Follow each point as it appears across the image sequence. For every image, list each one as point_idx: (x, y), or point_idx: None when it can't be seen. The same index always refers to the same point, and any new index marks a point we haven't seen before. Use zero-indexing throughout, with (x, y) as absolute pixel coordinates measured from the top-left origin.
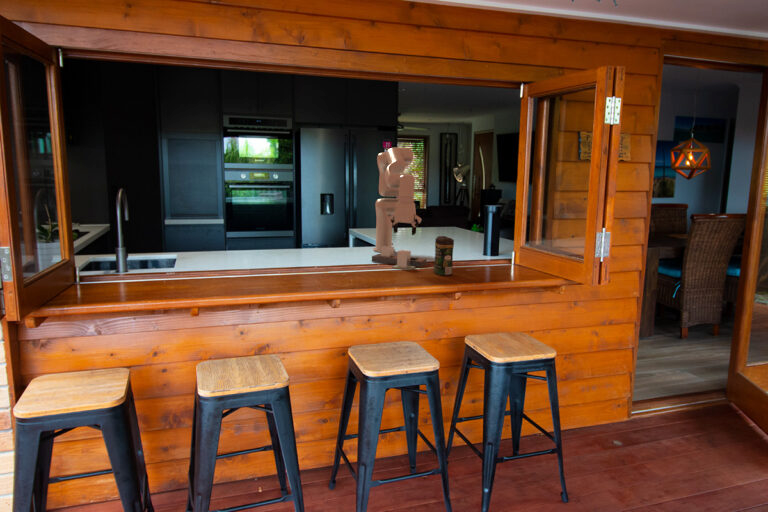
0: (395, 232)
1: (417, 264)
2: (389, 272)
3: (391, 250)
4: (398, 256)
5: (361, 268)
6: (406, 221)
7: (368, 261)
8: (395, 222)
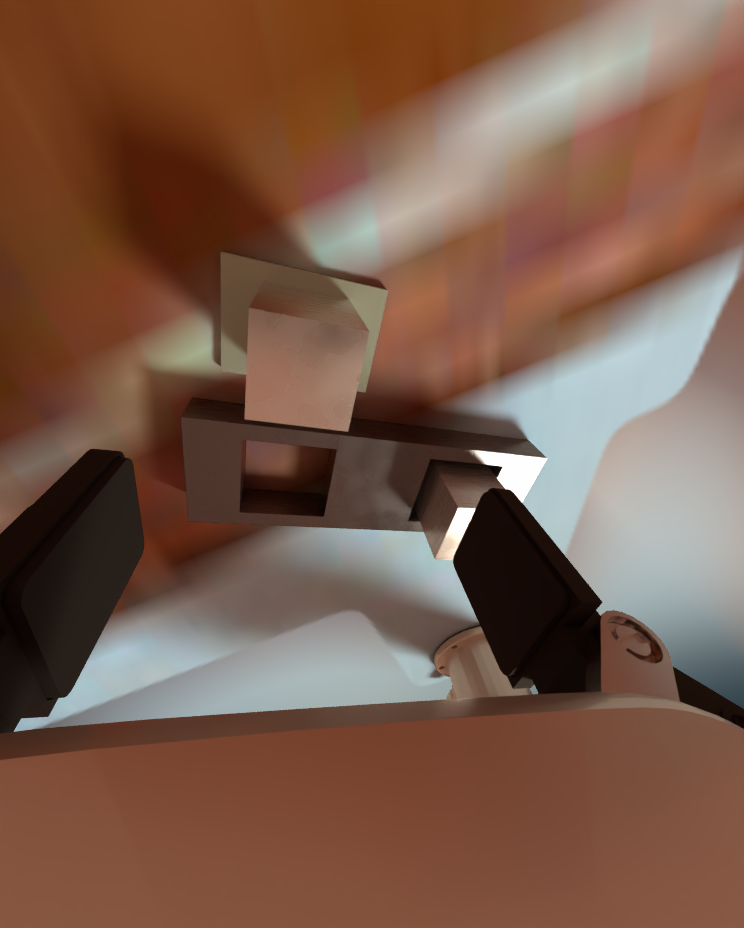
0: (486, 494)
1: (215, 409)
2: (373, 35)
3: (441, 516)
4: (349, 315)
5: (620, 168)
6: (136, 837)
7: (546, 439)
8: (633, 687)
